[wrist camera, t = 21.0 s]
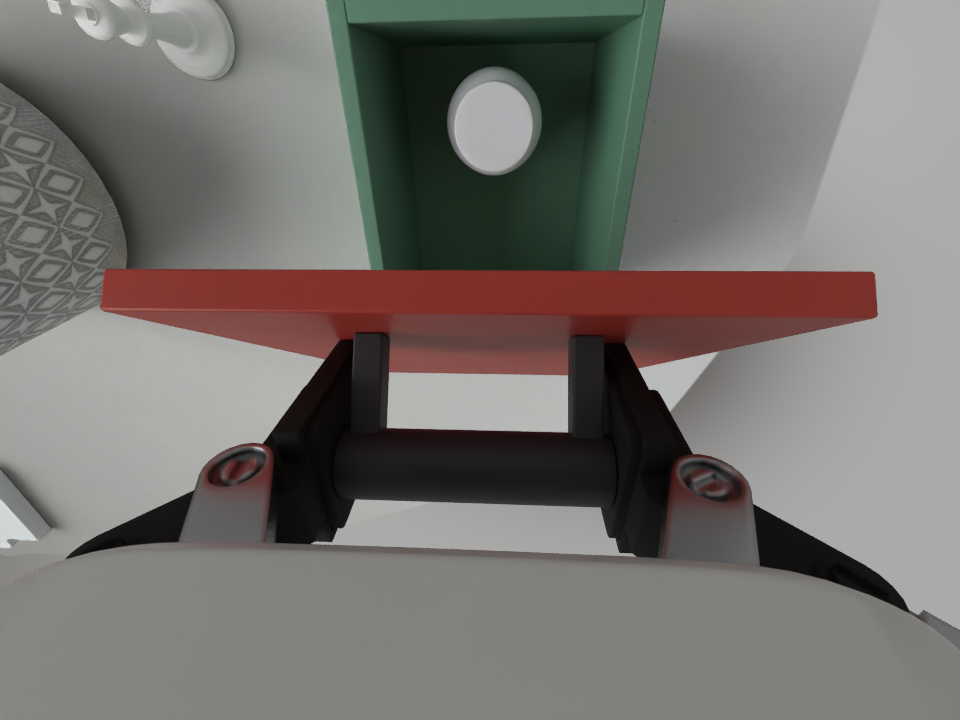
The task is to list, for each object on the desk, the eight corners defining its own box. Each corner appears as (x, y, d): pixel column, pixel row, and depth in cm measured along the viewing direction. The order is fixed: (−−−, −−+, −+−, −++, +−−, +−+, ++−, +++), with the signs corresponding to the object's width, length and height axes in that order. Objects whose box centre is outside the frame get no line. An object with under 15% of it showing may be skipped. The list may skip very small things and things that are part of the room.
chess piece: (240, 87, 28) (128, 85, 20) (166, 71, 28) (20, 62, 19) (229, -7, 25) (94, -56, 17) (147, -26, 25) (-31, -85, 17)
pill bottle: (440, 120, 28) (417, 130, 20) (494, 49, 26) (490, 31, 18) (497, 177, 30) (494, 206, 22) (551, 116, 27) (568, 125, 20)
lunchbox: (390, 32, 26) (324, -2, 17) (607, 26, 25) (668, -13, 16) (417, 290, 36) (385, 361, 26) (575, 291, 35) (601, 365, 25)
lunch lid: (102, 267, 8) (75, 525, 7) (876, 270, 7) (897, 556, 6) (384, 359, 26) (381, 433, 25) (603, 362, 25) (603, 438, 25)
